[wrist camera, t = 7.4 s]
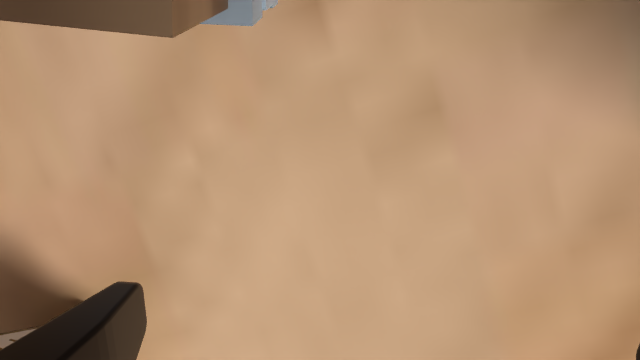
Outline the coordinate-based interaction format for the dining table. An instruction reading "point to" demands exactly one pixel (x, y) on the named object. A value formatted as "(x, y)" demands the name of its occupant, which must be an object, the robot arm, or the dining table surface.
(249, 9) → the slab top
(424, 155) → the dining table surface
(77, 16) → the walnut cube
